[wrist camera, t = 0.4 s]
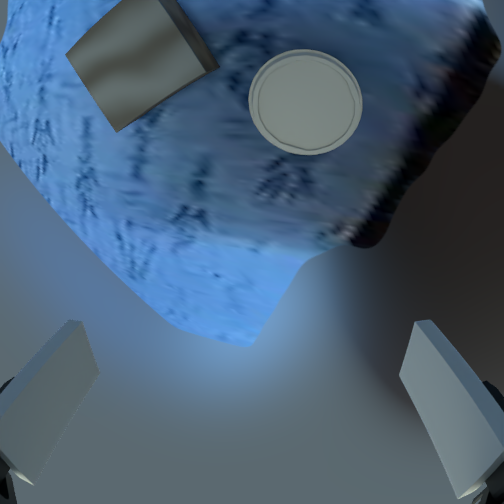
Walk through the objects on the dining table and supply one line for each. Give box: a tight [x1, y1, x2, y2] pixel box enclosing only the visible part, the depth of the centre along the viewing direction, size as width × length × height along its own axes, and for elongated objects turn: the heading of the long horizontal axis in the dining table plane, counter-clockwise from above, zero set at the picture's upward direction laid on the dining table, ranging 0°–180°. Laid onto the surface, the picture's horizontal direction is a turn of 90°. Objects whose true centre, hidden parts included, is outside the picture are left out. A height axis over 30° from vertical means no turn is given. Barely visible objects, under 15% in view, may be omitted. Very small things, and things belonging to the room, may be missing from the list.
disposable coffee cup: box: [248, 49, 362, 155], centre depth 26 cm, size 10×10×12 cm
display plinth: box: [65, 0, 220, 133], centre depth 27 cm, size 13×13×6 cm
